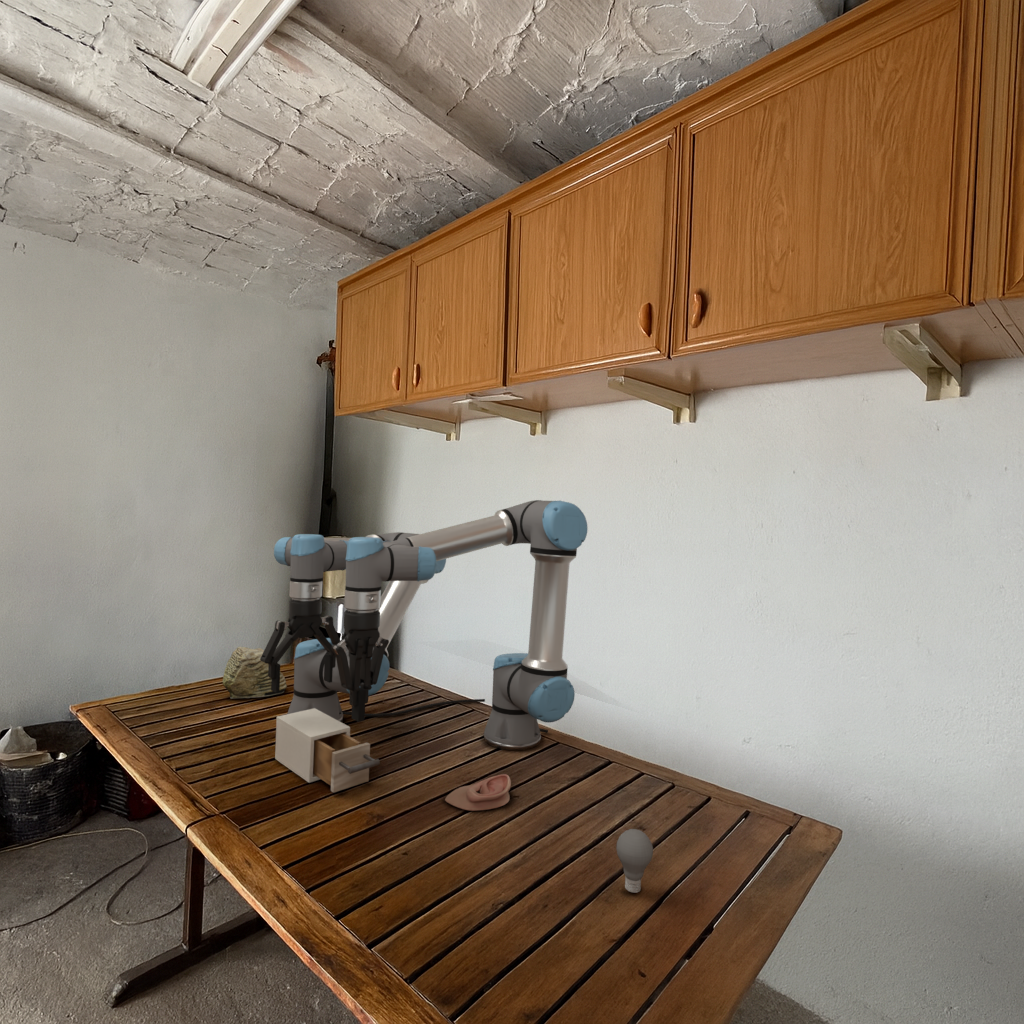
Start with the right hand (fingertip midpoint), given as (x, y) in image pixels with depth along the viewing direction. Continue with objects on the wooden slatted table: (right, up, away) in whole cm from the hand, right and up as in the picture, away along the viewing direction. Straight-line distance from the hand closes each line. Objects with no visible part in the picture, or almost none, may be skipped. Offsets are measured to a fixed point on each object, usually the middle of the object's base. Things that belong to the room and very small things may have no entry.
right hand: (358, 719), depth 135 cm
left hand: (-18, +2, +17) cm, 25 cm away
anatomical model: (+26, -17, 0) cm, 31 cm away
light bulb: (+53, -19, -30) cm, 64 cm away
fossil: (-48, -13, +62) cm, 80 cm away
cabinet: (-14, -15, +14) cm, 25 cm away
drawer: (-5, -15, +5) cm, 17 cm away
